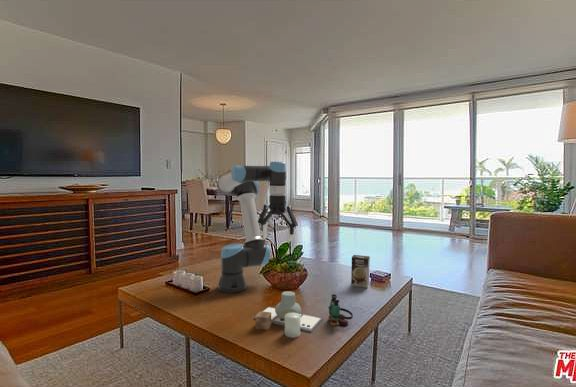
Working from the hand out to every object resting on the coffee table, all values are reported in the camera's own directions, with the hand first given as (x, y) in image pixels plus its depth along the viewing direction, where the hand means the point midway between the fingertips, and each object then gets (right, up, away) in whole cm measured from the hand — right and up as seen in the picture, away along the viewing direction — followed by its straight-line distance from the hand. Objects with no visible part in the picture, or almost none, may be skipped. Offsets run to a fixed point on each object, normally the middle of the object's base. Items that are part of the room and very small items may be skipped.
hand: (277, 239), depth 151 cm
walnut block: (-5, -32, -22) cm, 39 cm away
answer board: (+5, -31, -16) cm, 36 cm away
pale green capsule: (+7, -32, -28) cm, 43 cm away
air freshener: (+5, -30, -16) cm, 35 cm away
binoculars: (+27, -32, -18) cm, 45 cm away
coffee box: (+45, -29, +26) cm, 60 cm away
